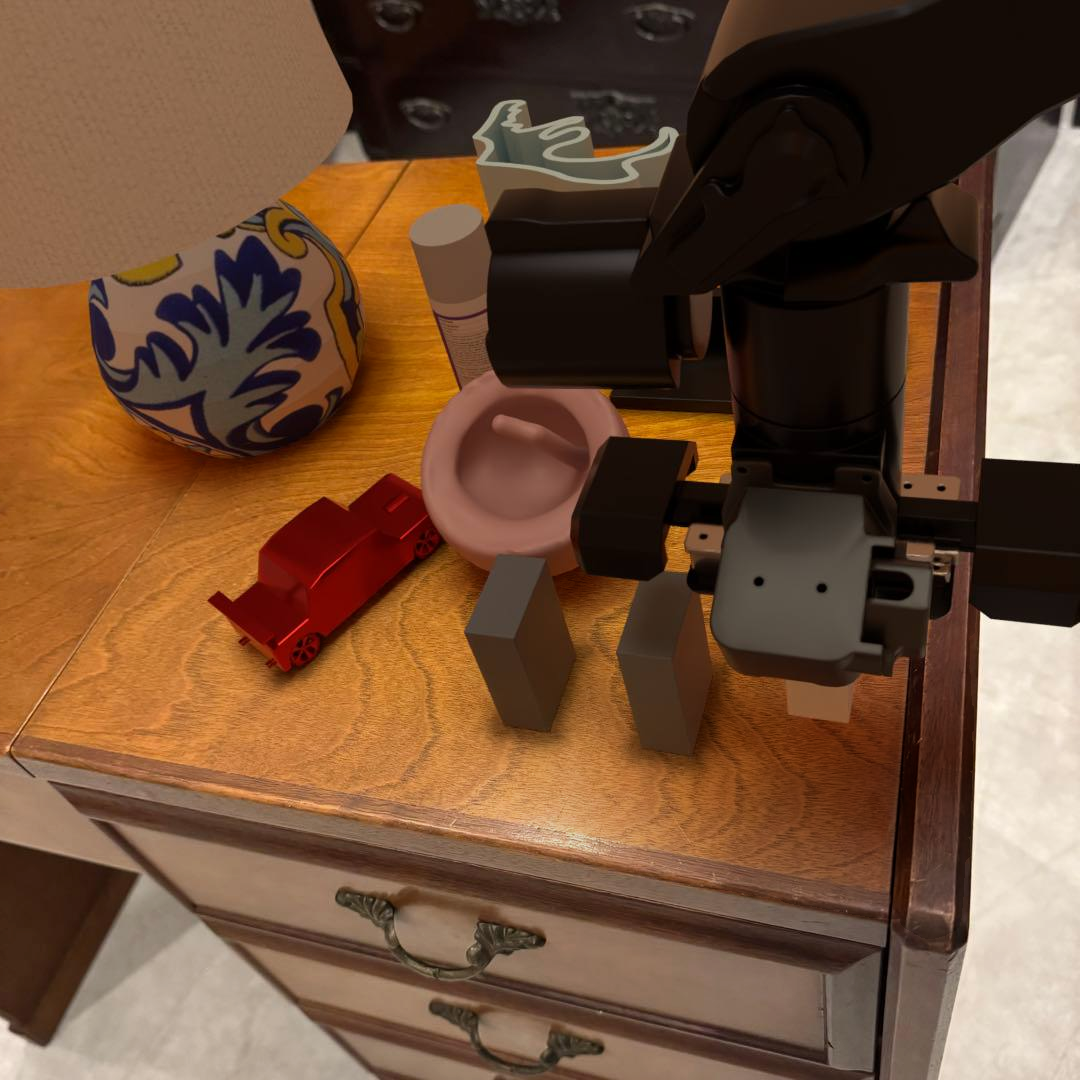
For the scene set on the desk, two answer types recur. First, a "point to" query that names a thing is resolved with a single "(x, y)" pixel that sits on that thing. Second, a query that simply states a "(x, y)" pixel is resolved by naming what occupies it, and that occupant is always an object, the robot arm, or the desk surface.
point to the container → (456, 283)
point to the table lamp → (183, 207)
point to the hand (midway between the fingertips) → (825, 651)
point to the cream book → (819, 701)
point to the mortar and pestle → (513, 468)
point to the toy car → (328, 568)
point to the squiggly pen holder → (558, 156)
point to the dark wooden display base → (691, 378)
